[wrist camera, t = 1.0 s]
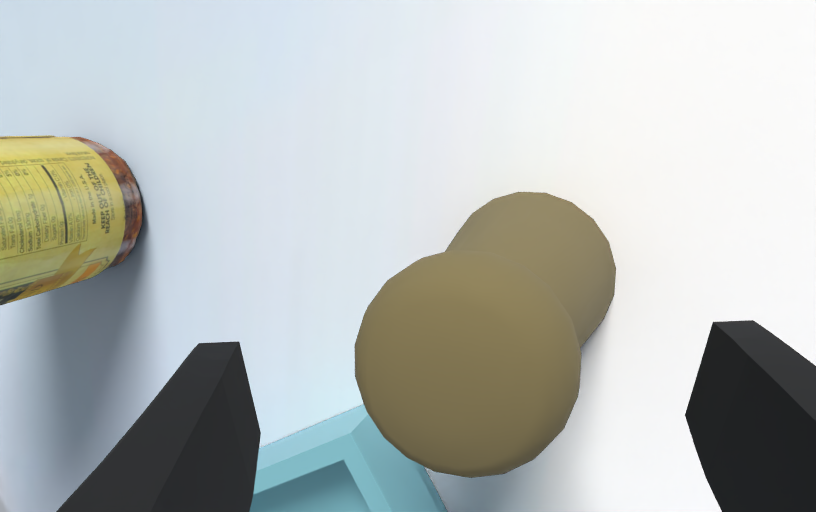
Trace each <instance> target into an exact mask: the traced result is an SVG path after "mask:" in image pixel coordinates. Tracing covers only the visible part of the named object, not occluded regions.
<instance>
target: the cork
mask: <svg viewBox="0 0 816 512" xmlns="http://www.w3.org/2000/svg"><path fill="white" fill-rule="evenodd" d="M615 274H616V267H615V263H614V260H613V256H612V252H611V249H610V245H609V242H608V240H607V239H606V237H605V236H604V234H603V233H602V231H601V230H600V228H599V227H598V225H597V224H596V223H595V221H594V220H593V219H592V218H591V217H590V216H588V215H587V214H586V213H585V212H583V211H582V210H581V209H579V208H578V207H577V206H576V205H574V204H573V203H572V202H569V201H566V200H564V199H561V198H558V197H555V196H553V195H550V194H547V193H533V192H517V193H513V194H510V195H506V196H503V197H499V198H496V199H493V200H491V201H490V202H488V203H487V204H486V205H484V206H483V207H481V208H480V209H478V210H477V211H475V212H474V213H472V215H471V216H470V217H469V218H468V220H467V221H466V222H465V224H464V225H463V226H462V228H461V229H460V230H459V232H458V233H457V234H456V236H455V237H454V239H453V240H452V242H451V243H450V245H449V246H448V248H447V249H446V251H445V252H443V253H439V254H435V255H432V256H428V257H424V258H421V259H420V260H418V261H416V262H414V263H413V264H411V265H410V266H408V267H407V268H405V269H404V270H402V271H401V272H399V273H398V274H396V275H395V276H393V277H392V278H390V279H389V280H387V282H386V283H385V284H384V286H383V287H382V288H381V290H380V291H379V292H378V294H377V295H376V296H375V298H374V299H373V301H372V302H371V303H370V305H369V306H368V308H367V310H366V312H365V314H364V317H363V320H362V323H361V326H360V330H359V333H358V336H357V339H356V343H355V377H356V381H357V384H358V387H359V390H360V393H361V396H362V399H363V403H364V406H365V408H366V411H367V413H368V414H369V416H370V417H371V419H372V420H373V422H374V423H375V425H376V426H377V428H378V429H379V431H380V432H381V434H382V435H383V437H384V438H385V439H386V440H387V441H388V442H390V443H391V444H392V445H393V446H394V447H395V448H396V449H397V450H399V451H400V452H401V453H402V454H403V455H404V456H405V457H407V458H408V459H410V460H412V461H414V462H416V463H418V464H421V465H423V466H425V467H427V468H429V469H431V470H433V471H435V472H441V473H446V474H452V475H457V476H463V477H469V478H474V477H482V476H490V475H499V474H505V473H507V472H509V471H511V470H513V469H515V468H517V467H519V466H521V465H523V464H525V463H527V462H529V461H532V460H533V459H534V458H536V457H537V456H538V455H539V454H540V453H541V452H542V451H543V450H544V449H545V448H546V447H547V446H548V445H549V444H550V443H551V442H552V441H553V440H554V438H555V437H556V436H557V435H558V434H559V433H560V432H561V431H562V430H563V429H564V427H565V425H566V423H567V420H568V418H569V416H570V414H571V411H572V409H573V407H574V404H575V402H576V400H577V397H578V392H579V385H580V368H581V350H580V348H581V347H582V345H583V344H584V343H585V342H586V340H587V339H588V338H589V336H590V335H591V334H592V333H593V331H594V330H595V329H596V328H597V326H598V325H599V324H600V323H601V321H602V320H603V319H604V317H605V315H606V312H607V310H608V308H609V305H610V303H611V301H612V298H613V296H614V289H615Z"/></svg>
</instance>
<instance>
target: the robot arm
mask: <svg viewBox="0 0 816 512" xmlns="http://www.w3.org/2000/svg"><path fill="white" fill-rule="evenodd" d="M685 416H686V419H687V423H688V426H689V429H690V432H691V435H692V438H693V442H694V445H695V448H696V451H697V454H698V456H699V459H700V462H701V465H702V468H703V471H704V474H705V476H706V479H707V481H708V483H709V485H710V487H711V489H712V492H713V494H714V496H715V498H716V500H717V502H718V504H719V506H720V508H721V510H722V512H816V366H815V365H814V364H812V363H811V362H810V361H808V360H807V359H806V358H804V357H803V356H802V355H800V354H799V353H798V352H796V351H795V350H794V349H792V348H791V347H790V346H788V345H787V344H786V343H784V342H783V341H782V340H780V339H779V338H777V337H776V336H775V335H773V334H772V333H771V332H769V331H768V330H766V329H765V328H763V327H762V326H761V325H759V324H758V323H756V322H755V321H753V320H752V321H728V322H713V324H712V327H711V331H710V334H709V337H708V341H707V344H706V347H705V351H704V354H703V357H702V361H701V364H700V367H699V371H698V374H697V377H696V381H695V384H694V387H693V390H692V394H691V397H690V400H689V404H688V407H687V410H686V414H685ZM260 434H261V432H260V428H259V424H258V420H257V415H256V411H255V407H254V403H253V398H252V394H251V390H250V386H249V381H248V377H247V373H246V369H245V364H244V360H243V356H242V352H241V347H240V343H239V342H219V343H199V344H198V345H197V346H196V347H195V348H194V349H193V350H192V352H191V353H190V354H189V355H188V357H187V358H186V359H185V360H184V362H183V363H182V364H181V366H180V367H179V368H178V369H177V371H176V372H175V373H174V374H173V376H172V377H171V378H170V380H169V381H168V382H167V383H166V385H165V386H164V387H163V389H162V390H161V391H160V392H159V394H158V395H157V396H156V397H155V399H154V400H153V401H152V402H151V404H150V405H149V406H148V407H147V409H146V410H145V411H144V412H143V414H142V415H141V416H140V417H139V418H138V420H137V421H136V422H135V423H134V424H133V426H132V427H131V428H130V429H129V430H128V431H127V433H126V434H125V435H124V436H123V437H122V439H121V440H120V441H119V442H118V443H117V445H116V446H115V447H114V448H113V449H112V451H111V452H110V453H109V454H108V455H107V456H106V458H105V459H104V460H103V461H102V462H101V463H100V464H99V466H98V467H97V468H96V469H95V470H94V471H93V472H92V473H91V474H90V475H89V477H88V478H87V479H86V480H85V481H84V482H83V483H82V484H81V485H80V486H79V487H78V489H77V490H76V491H75V492H74V493H73V494H72V495H71V496H70V497H69V498H68V499H67V501H66V502H65V503H64V504H63V505H62V506H61V507H60V508H59V509H58V510H57V511H56V512H250V507H251V503H252V499H253V493H254V485H255V477H256V470H257V461H258V452H259V443H260Z"/></svg>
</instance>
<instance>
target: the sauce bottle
mask: <svg viewBox="0 0 816 512" xmlns="http://www.w3.org/2000/svg"><path fill="white" fill-rule="evenodd" d="M141 225H142V203H141V196H140V192H139V190H138V187H137V185H136V180H135V178H134V177H133V175H132V173H131V171H130V169H129V167H128V165H127V163H126V162H125V161H124V160H123V159H122V158H120V157H119V156H118V155H117V154H115V153H114V152H113V151H112V150H110V149H108V148H106V147H104V146H103V145H101V144H99V143H96V142H93V141H91V140H88V139H85V138H81V137H55V136H5V137H0V305H3V304H7V303H10V302H13V301H17V300H20V299H23V298H27V297H30V296H33V295H37V294H40V293H43V292H46V291H50V290H53V289H56V288H60V287H63V286H66V285H69V284H73V283H76V282H79V281H83V280H86V279H90V278H92V277H94V276H96V275H98V274H99V273H100V272H102V271H103V270H104V269H107V268H109V267H112V266H115V265H117V264H119V263H120V262H122V261H123V260H124V259H125V257H126V256H128V255H129V253H130V252H131V251H132V249H133V248H134V245H135V242H136V238H137V236H138V235H139V231H140V228H141Z"/></svg>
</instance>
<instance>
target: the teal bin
mask: <svg viewBox="0 0 816 512" xmlns="http://www.w3.org/2000/svg"><path fill="white" fill-rule="evenodd" d="M250 512H447V510H446V508H445V506H444V504H443V502H442V500H441V498H440V497H439V495H438V493H437V491H436V489H435V487H434V485H433V483H432V481H431V479H430V478H429V476H428V474H427V472H426V470H425V468H424V466H423V465H421V464H418V463H416V462H414V461H412V460H410V459H408V458H407V457H405V456H404V455H403V454H402V453H401V452H400V451H399V450H397V449H396V448H395V447H394V446H393V445H392V444H391V443H390V442H388V441H387V440H386V439H385V438H384V437H383V435H382V434H381V432H380V431H379V429H378V428H377V426H376V425H375V423H374V422H373V420H372V419H371V417H370V416H369V414H368V413H367V411H366V408H365V406H364V404H363V405H361V406H359V407H356V408H354V409H351V410H349V411H347V412H344V413H342V414H340V415H337V416H335V417H332V418H330V419H328V420H325V421H323V422H321V423H318V424H316V425H314V426H311V427H309V428H306V429H304V430H302V431H299V432H297V433H295V434H292V435H290V436H288V437H285V438H283V439H280V440H278V441H276V442H273V443H271V444H269V445H266V446H264V447H261V448H259V452H258V461H257V470H256V477H255V485H254V493H253V499H252V503H251V507H250Z"/></svg>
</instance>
